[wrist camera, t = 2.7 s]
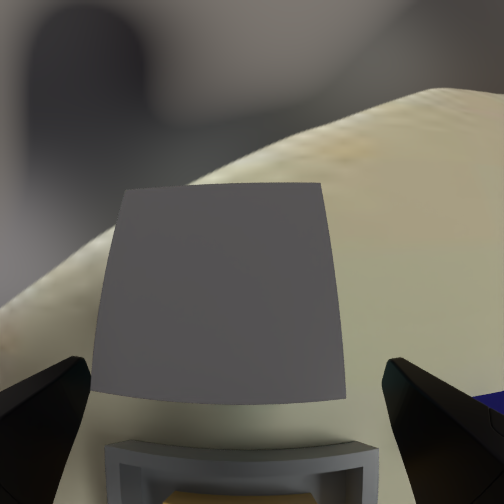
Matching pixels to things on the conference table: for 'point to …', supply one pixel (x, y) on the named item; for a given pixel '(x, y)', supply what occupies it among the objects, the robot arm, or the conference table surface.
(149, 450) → the socket box
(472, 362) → the conference table surface
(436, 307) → the conference table surface
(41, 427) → the robot arm
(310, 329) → the plug
